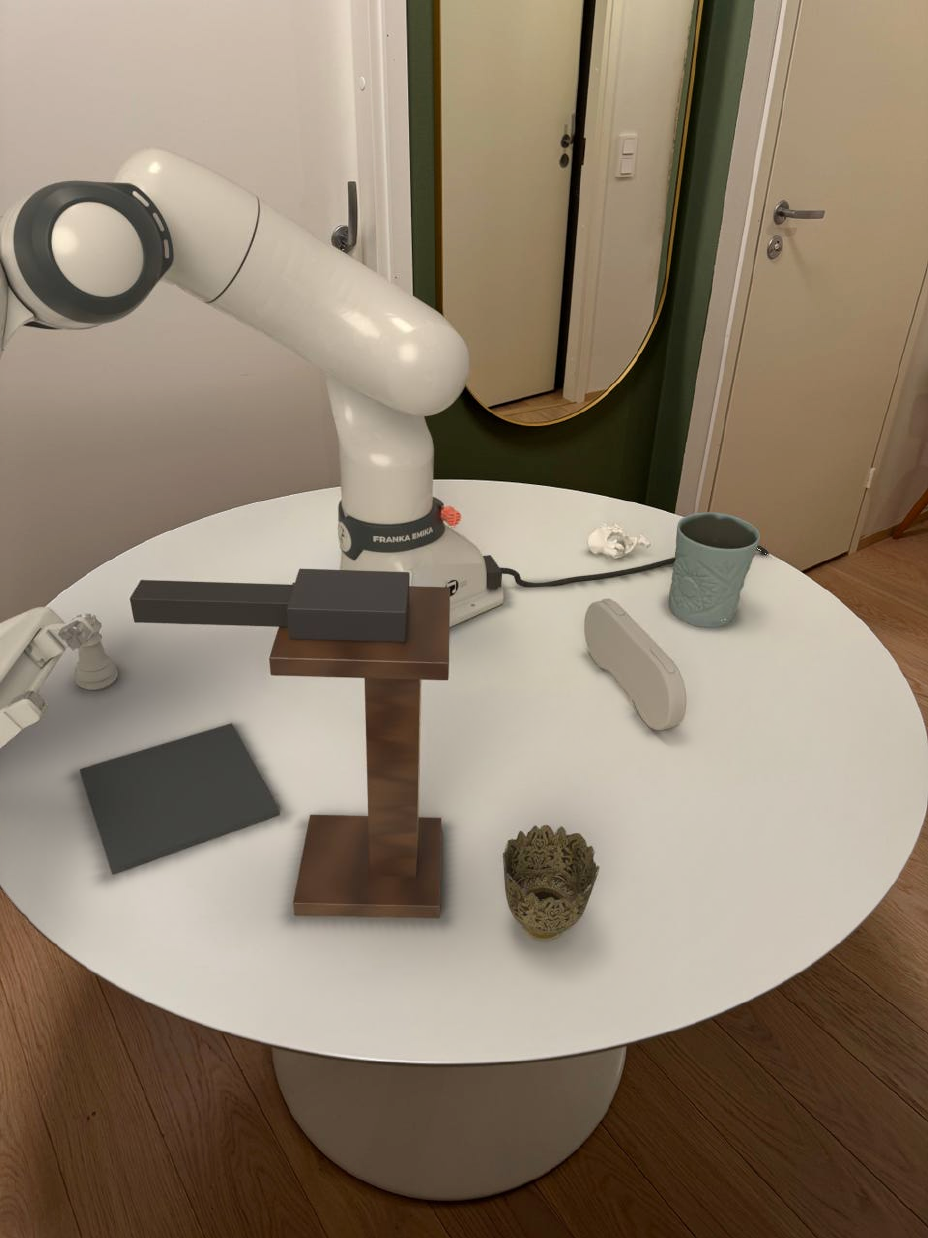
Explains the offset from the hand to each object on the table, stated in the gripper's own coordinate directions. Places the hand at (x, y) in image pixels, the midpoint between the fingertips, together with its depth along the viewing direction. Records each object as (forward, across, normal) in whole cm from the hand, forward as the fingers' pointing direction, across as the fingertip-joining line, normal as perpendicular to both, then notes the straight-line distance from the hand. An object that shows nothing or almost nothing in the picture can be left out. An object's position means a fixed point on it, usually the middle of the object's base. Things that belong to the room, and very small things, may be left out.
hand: (63, 663), depth 64 cm
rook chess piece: (-20, +26, +13) cm, 35 cm away
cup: (+21, -6, +37) cm, 43 cm away
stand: (+8, 0, +30) cm, 31 cm away
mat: (-8, +8, +20) cm, 23 cm away
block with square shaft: (+16, 0, +4) cm, 17 cm away
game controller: (+32, +27, +44) cm, 60 cm away
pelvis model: (+35, +60, +46) cm, 83 cm away
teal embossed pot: (+43, +45, +50) cm, 79 cm away
